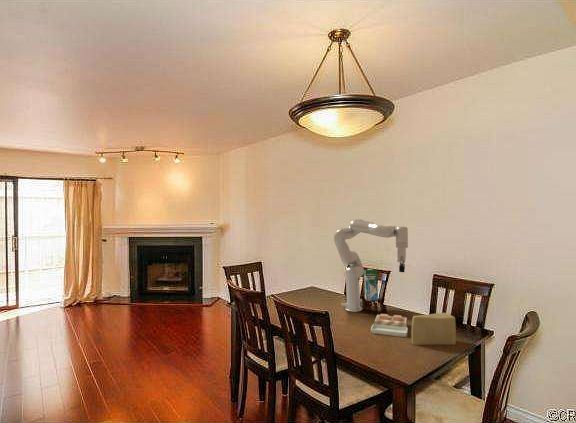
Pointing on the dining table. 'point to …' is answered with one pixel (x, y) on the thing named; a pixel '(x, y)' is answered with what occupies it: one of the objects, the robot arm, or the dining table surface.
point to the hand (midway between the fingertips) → (402, 270)
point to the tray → (389, 330)
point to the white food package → (391, 321)
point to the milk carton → (371, 285)
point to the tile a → (384, 316)
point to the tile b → (397, 317)
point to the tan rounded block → (433, 329)
